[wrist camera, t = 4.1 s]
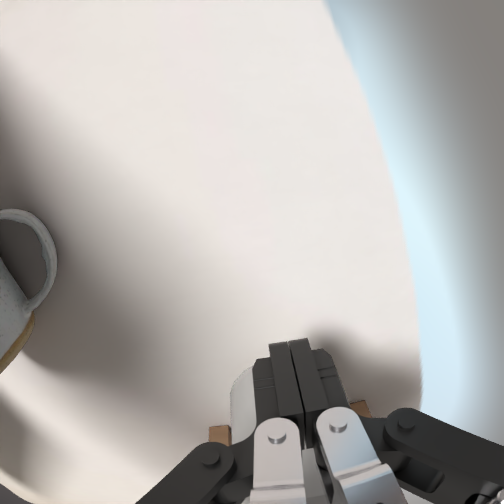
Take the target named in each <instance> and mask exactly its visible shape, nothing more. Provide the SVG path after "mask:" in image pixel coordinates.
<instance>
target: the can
mask: <svg viewBox="0 0 504 504" xmlns="http://www.w3.org/2000/svg"><path fill="white" fill-rule="evenodd" d="M252 368H253V366H252V367H250V368H249V369H247V370H245V371H244V372H243V373H242V374H241V375H240V376H239V378H238V379H237V380H236V381H235V382H234V385H233V387H232V390H231V393H230V399H231V430H232V445H233V444H235V443H238V442H241V441H243V440H245V439H246V438H248V437H249V436H250V435H251V434H252V433H253V431H254V429H255V427H256V410H255V398H254V386H253V374H252ZM338 376H339V375H338ZM339 379H340V378H339ZM341 384H342V383H341ZM342 387H343V386H342ZM343 389H344V388H343ZM344 392H345V391H344ZM345 395H346V394H345ZM346 398H347V396H346ZM347 400H348V399H347ZM348 403H349V402H348ZM302 462H303V465H302V467H303V479H304V486H305V495H306V504H327V500H326V497H325V494H324V491H323V488H322V485H321V482H320V479H319V475H318V472H317V469H316V466H315V454H314V449H313V448H310V449H306V444H305V450H302ZM241 504H250V496H249V497H246V498H245V500H244V501H243V502H242V503H241Z"/></svg>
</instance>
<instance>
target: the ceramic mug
mask: <svg viewBox="0 0 504 504" xmlns="http://www.w3.org/2000/svg"><path fill="white" fill-rule="evenodd" d="M2 219H8V220H13V221H17V222H19V223H24V224H26V225H28V226H30V227H32V228H33V230H34V231H35V233H36V235H37V237H38V239H39V241H40V243H41V246H42V257H43V258H44V259H45V262H46V272H47V278H46V281H45V284H44V286H43V288H42V289H41V290H40V291H39V292H38V293H37V294H36V295H35V296H34V297H33V298H32V299H30V300H27V298H26V296H25V295H24V293H23V291H22V290H21V288H20V287H19V285H18V284H17V283H16V281H15V280H14V278H13V277H12V275H11V274H10V272H9V271H8V269H7V268H6V266H5V265H4V263H3V261H2V259H1V257H0V374H1V373H2V372H3V371H4V370H5V368H6V367H7V366H8V365H9V364H10V363H11V362H12V361H13V360H14V358H15V357H16V356H17V355H18V353H19V352H20V350H21V349H22V348H23V346H24V345H25V343H26V342H27V340H28V338H29V337H30V335H31V332H32V330H33V327H34V320H35V316H34V312H33V310H34V309H35V308H36V307H38V306H39V305H40V304H41V302H42V301H43V300H44V299H45V298H46V296H47V294H48V293H49V291H50V289H51V287H52V285H53V283H54V280H55V277H56V273H57V262H58V261H57V253H56V247H55V244H54V241H53V239H52V237H51V235H50V233H49V231H48V230H47V228H46V227H45V226H44V224H43V223H42V222H41V220H40V219H38V218H37V217H36V216H34V215H33V214H32V213H30V212H28V211H24V210H20V209H4V210H1V211H0V220H2Z"/></svg>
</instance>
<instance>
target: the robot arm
mask: <svg viewBox="0 0 504 504" xmlns="http://www.w3.org/2000/svg"><path fill="white" fill-rule="evenodd" d="M288 344H289V346H288ZM269 351H270V357H268V358H261V359H257V360H256V362H255V364H254V366H253V368H252V374H253V386H254V398H255V410H256V427H255V429H254V431H253V433H252V434H251V435H250V436H249V437H248V438H246V439H245V440H243V441H241V442H238V443H235V444H233V445H230V446H226V445H225V444H222V443H219V442H206V443H203V444H201V445H199V446H197V447H196V448H195V449H194V450H193V451H192V452H191V453H190V454H188V455H187V456H186V457H185V458H184V459H183V460H182V461H181V462H180V463H179V464H178V465H177V466H176V467H175V468H174V469H173V470H172V471H171V472H170V473H169V474H168V475H166V476H165V477H164V478H163V479H162V480H161V481H160V482H159V483H158V484H157V485H156V486H154V487H153V488H152V489H151V490H150V491H149V492H148V493H147V494H146V495H144V496H143V497H142V498H141V499H140V500H139V501H138V502H136V503H135V504H241V503H242V502H243V501H244V500H245V498H246V497H249V496H250V504H306V495H305V486H304V479H303V467H302V465H303V462H302V450H305V444H306V449H310V448H313V449H314V454H315V466H316V469H317V472H318V475H319V479H320V482H321V485H322V488H323V491H324V494H325V497H326V500H327V504H408V503H407V501H406V499H405V497H404V494H403V492H402V490H401V488H403V489H405V490H407V491H409V492H411V493H413V494H415V495H417V496H419V497H421V498H423V499H426V500H428V501H430V502H432V503H434V504H504V446H502V445H499V444H496V443H494V442H491V441H488V440H486V439H484V438H481V437H479V436H476V435H473V434H471V433H469V432H466V431H464V430H461V429H459V428H457V427H454V426H452V425H449V424H447V423H445V422H443V421H440V420H438V419H435V418H433V417H431V416H429V415H427V414H424V413H422V412H420V411H418V410H415V409H412V408H400V409H397V410H395V411H393V412H392V413H391V414H390V415H389V416H388V417H387V418H368V417H363V416H361V415H359V414H357V413H355V412H354V411H353V410H352V409H351V407H350V405H349V403H348V400H347V398H346V395H345V392H344V389H343V387H342V384H341V381H340V379H339V376H338V373H337V370H336V368H335V365H334V362H333V360H332V357H331V356H330V355H329V354H328V353H327V352H326V351H325V350H324V349H323V348H322V349H317V350H311V348H310V344H309V341H308V339H307V338H304V339H298V340H292V341H288V342H287V341H286V342H280V343H273V344H269ZM400 487H401V488H400Z"/></svg>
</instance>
